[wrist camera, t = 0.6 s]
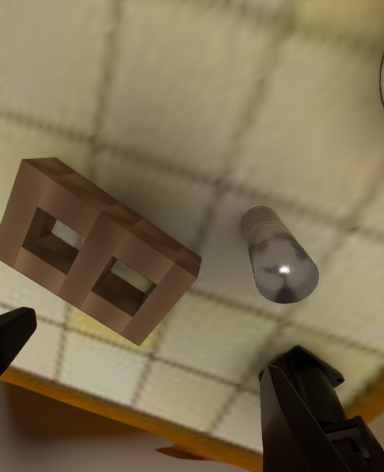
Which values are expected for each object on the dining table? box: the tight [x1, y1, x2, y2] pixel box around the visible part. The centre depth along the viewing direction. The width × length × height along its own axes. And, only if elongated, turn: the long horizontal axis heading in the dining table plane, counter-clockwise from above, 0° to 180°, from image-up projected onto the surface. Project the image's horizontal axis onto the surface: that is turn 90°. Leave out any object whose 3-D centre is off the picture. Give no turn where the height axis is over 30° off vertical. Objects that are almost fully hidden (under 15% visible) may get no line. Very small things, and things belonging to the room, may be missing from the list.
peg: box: [243, 206, 319, 304], centre depth 15 cm, size 3×3×9 cm
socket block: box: [0, 157, 201, 346], centre depth 21 cm, size 16×10×4 cm, turn 55°
